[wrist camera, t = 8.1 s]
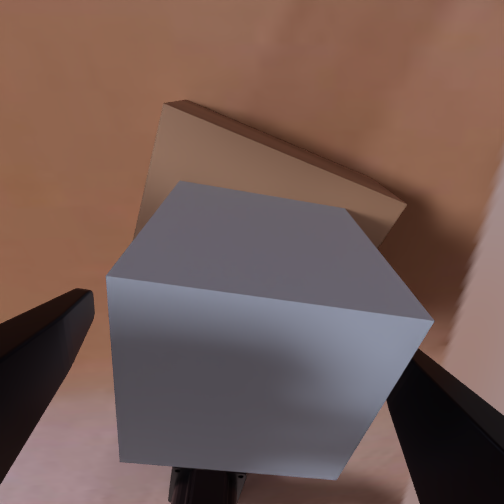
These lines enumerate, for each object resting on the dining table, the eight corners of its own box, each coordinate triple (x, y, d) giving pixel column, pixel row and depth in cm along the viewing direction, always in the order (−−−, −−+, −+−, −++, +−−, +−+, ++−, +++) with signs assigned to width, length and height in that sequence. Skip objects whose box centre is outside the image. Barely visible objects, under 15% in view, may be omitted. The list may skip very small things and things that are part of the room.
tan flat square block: (289, 311, 18) (299, 364, 15) (144, 266, 17) (116, 314, 13) (368, 176, 14) (407, 204, 11) (187, 99, 13) (163, 103, 9)
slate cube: (303, 329, 14) (336, 480, 8) (171, 312, 13) (120, 462, 8) (344, 208, 11) (435, 320, 6) (179, 180, 10) (105, 276, 5)
